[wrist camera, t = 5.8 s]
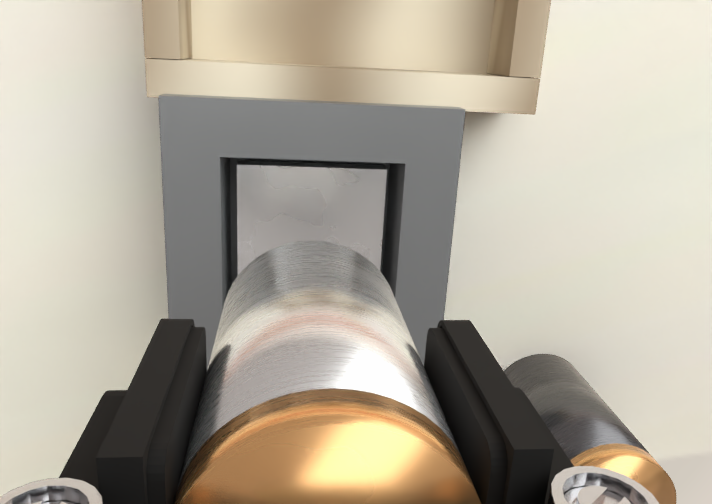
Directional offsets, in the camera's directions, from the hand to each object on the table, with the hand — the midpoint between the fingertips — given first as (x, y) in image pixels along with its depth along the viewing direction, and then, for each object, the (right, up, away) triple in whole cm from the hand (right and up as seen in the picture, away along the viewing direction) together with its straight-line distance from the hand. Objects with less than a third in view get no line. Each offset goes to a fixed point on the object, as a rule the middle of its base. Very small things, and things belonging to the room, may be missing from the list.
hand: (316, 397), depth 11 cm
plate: (-1, +3, +10) cm, 11 cm away
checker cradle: (-1, +4, +12) cm, 13 cm away
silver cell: (0, +1, +3) cm, 3 cm away
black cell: (+8, -4, +15) cm, 18 cm away
